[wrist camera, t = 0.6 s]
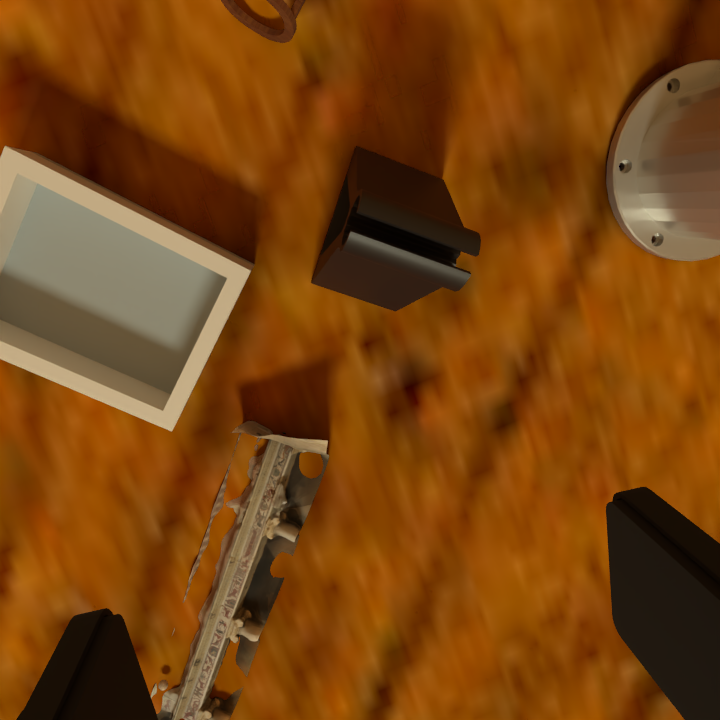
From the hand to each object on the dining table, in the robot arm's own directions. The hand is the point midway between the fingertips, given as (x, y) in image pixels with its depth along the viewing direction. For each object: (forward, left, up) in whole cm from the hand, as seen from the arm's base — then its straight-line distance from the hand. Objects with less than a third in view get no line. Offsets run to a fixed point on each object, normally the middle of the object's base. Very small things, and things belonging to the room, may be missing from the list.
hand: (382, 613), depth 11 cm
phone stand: (-7, +1, -29) cm, 30 cm away
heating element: (+21, +4, -30) cm, 36 cm away
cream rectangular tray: (+4, -12, -29) cm, 31 cm away
